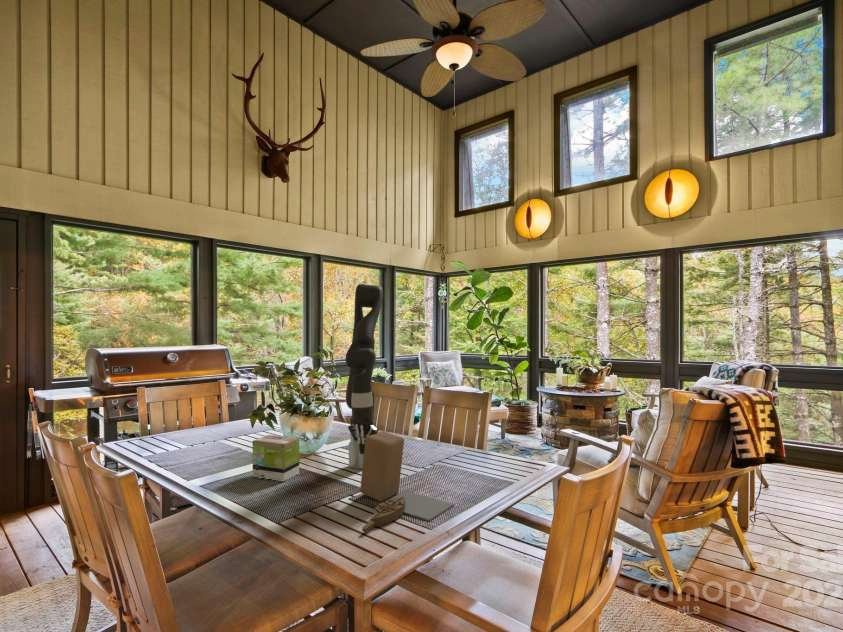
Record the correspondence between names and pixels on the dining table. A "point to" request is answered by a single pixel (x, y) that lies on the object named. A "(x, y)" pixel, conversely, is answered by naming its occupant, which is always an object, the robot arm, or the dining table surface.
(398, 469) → the block
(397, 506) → the leaf carving
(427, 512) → the mat
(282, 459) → the tea box
